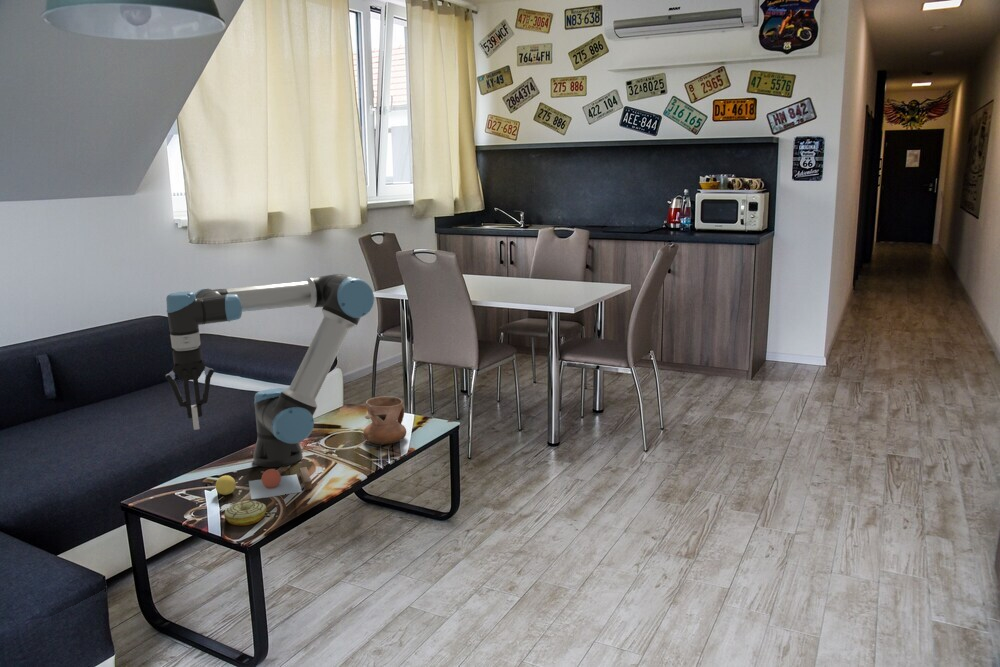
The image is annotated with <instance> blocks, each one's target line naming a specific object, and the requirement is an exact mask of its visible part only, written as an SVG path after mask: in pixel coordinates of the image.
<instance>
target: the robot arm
mask: <svg viewBox="0 0 1000 667" xmlns="http://www.w3.org/2000/svg"><path fill="white" fill-rule="evenodd" d="M165 301H166V314H167V319H168V320H167V321H168V326H169V337H170V343H171V348H172V352H171V353H172V359H173V366H172V370H171V371H170V372H169V373H166V374H165V379H166V381H167V382H168V383H169V384H170V385H171V388H172V390H173V393H174V396H175V399H176V400H177V402H178V405H179V407H180V408H181V407H183V408H186V413H187V418H188V419H192V426H193V430H194V431H196V430H200V429H201V428H200V423H199V422H200V421H199V418H201V417H203V411H202V410H203V409H202V406H203V405H205V404H207V403H208V401H209V400H208V399H209V393H210V386H211V378H212V376H213V375H214V373H215V372H214V368H212V367H208V366H206V365H205V362H204V361H203V353H202V351H203V350H202V347H201V346H200V345H201V344H202V343H201V337H200V328H199V327H200V325H202V326H203V325H209V324H215V323H217V324H218V323H223V322H224V323H225V322H228V323H229V322H232V321H238V320H239V319H241V318H242V314H243V312H245V313H247V312H254V311H255V312H256V311H262V310H272V309H273V310H274V309H281V308H282V309H283V308H293V307H302V306H308V307H310V308H311V309H315V308H321V311H322V315H323V318H322V320H321V322H320V324H319V326H318V328H317V330H316V333H315V335H314V336H313V338H312V341H311V343H310V345H309V346H308V348H307V351H306V353H305V355H304V356H303V359H302V361H301V362H300V365H299V367H298V369H297V371H296V373H295V375H294V377H293V379H292V381H291V384H290V385H289V387H277V388H276V387H275V388H269V389H268V388H267V389H264V390H260V391H258V392H256V393H255V394H254V397H253V398H254V402H253V404H254V410H255V411H254V412H255V424H256V432H257V434H256V435H257V440H256V443H255V447H254V451H253V454H252V455H253V456H252V457H253V463H254V464H255V465H256V466H258V467H262V468H280V467H281V468H282V467H286V466H290V465H294V464H295V463H297V462H299V461H301V460H302V458H303V449H302V447H301V445H300V443H301V442H303V441H305V440H306V439H307V438H309V437H310V435H311V434H312V432H313V429H314V426H315V421H314V415H315V412H316V410H317V409H318V403H317V401H316V399H317V397H318V395H319V392H320V390H321V388H322V387H323V384H324V382H325V380H326V379H327V377H328V375H329V372H330V371H331V367H332V366H333V364H334V361H335V360H336V357H338V356H337V355H338V354H339V351H340V350H341V347H342V345H343V343H344V341H345V339H346V337H347V335H348V333H349V331H350V329H352V328H355V327H357V326H358V323H359V322H360V320H361V318H362V317H363V318H364V316H366V315H368V314H369V313H370V311H371V310H372V309H373V307H374V302H375V295H374V291H373V289H372V286H370V284H369V283H368V282H367V281H365V280H364V279H361V278H358V277H357V276H352V275H351V276H350V275H347V274H343V273H335V274H334V273H332V274H327V275H321V276H320V275H319V276H315V277H314V276H313V277H312V276H311V277H308V278H306V280H305V281H304V280H303V281H295V282H283V283H272V284H271V283H270V284H263V285H250V286H249V285H248V286H238V287H228V288H219V289H218V288H217V289H216V288H215V289H211V288H202V289H199V290H198V291H196V292H192V291H177V292H176V291H175V292H172V293H169V294H167V295H166V300H165ZM203 372H204V375H205V378H204V386H203V391H202V398H201V393H200V385H199V379H200V377H201V375H202V374H203ZM176 376H177V377H178V378H179V379H180V380H181V381H183V388H184V396H185V401H184V399H183V397H182V394H181V392H180V389H179V387H178V384H177V382H176V380H175V379H176ZM189 381H192V383H193V390H194V396H195V397H194V398H195V404H192V403H191V395H190V393H191V392H190V386H189Z"/></svg>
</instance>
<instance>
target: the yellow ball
mask: <svg viewBox="0 0 1000 667" xmlns="http://www.w3.org/2000/svg"><path fill="white" fill-rule="evenodd" d="M236 485H237V483H236V480H235V478H234V477H232V476H231V475H227V474H226V475H222V476H220V477H219V478H218V479H217V480H216V481H215V490H216V492H217V493H218V494H220V495H222V496H227V495H230V494H232V493H233V492H234V491H235V489H236Z"/></svg>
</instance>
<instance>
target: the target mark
mask: <svg viewBox="0 0 1000 667" xmlns="http://www.w3.org/2000/svg"><path fill="white" fill-rule="evenodd" d="M248 488H249V492H250V501H254V500H258V499H265V498H271V497H278V496H284V495H285V494H286V495H291V493H292V494H298V493H303V490H302V487H301V485H300V480H299V478H298V475H297V473H296V474H290V475H281V481H280V483H279V484H278V485H277V486H276V487H274V488H268V487H266V486H264V485H263V483H262V480H261V479H254V480H248Z"/></svg>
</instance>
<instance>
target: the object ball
mask: <svg viewBox="0 0 1000 667" xmlns="http://www.w3.org/2000/svg"><path fill="white" fill-rule="evenodd" d="M281 476H282V475H281V472H279V471H278V470H277V469H275V468H269V469H266V470H265V471H264V472H263V473H262V475H261V480H262V483H263V485H264V486H266V487H268V488H274V487H276V486H277V485H278V484H279V483H280V481H281Z"/></svg>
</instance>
